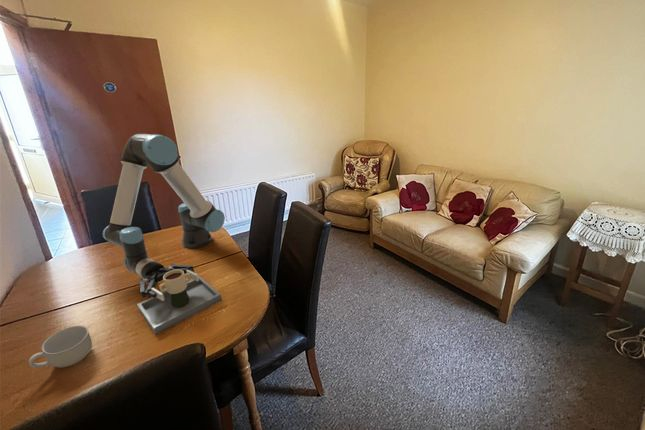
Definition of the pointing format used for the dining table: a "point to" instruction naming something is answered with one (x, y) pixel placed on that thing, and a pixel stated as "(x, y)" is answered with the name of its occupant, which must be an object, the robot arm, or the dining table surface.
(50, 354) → the teacup
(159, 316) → the tray
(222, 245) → the dining table surface
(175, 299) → the character mug
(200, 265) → the dining table surface
